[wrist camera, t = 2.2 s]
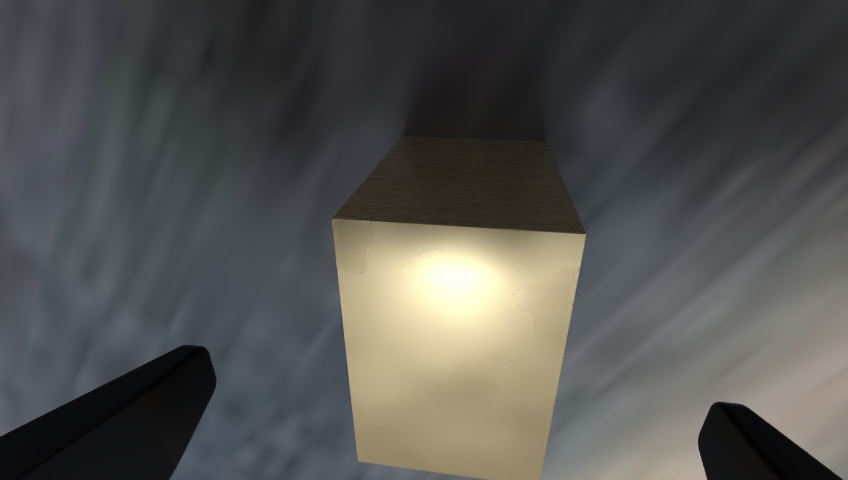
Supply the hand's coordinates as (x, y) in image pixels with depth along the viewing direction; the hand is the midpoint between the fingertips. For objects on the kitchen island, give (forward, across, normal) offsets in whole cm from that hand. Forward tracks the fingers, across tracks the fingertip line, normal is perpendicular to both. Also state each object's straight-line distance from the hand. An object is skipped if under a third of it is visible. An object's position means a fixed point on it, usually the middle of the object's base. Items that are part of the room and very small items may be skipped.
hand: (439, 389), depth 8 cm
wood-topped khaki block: (+6, 0, 0) cm, 7 cm away
